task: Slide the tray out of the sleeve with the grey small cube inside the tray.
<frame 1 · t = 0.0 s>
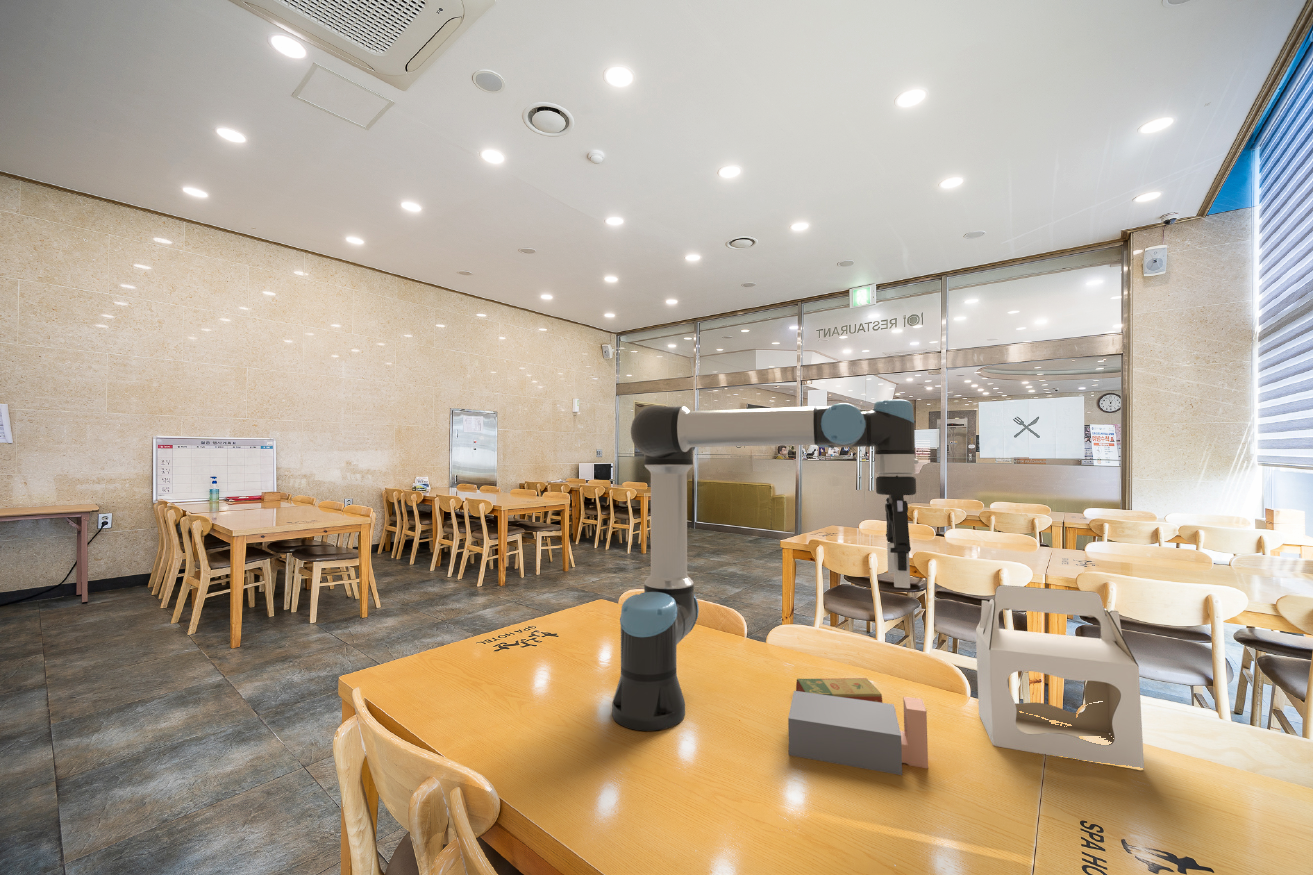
hand: (898, 580, 106), 28 cm above the table, fingers open, 13 cm apart
sleeve: (843, 751, 93), on the table
gable box: (1053, 741, 97), on the table
carton: (837, 705, 112), on the table
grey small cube: (864, 750, 92), point 1 cm above the table, touching tray
tray: (859, 724, 93), point 5 cm above the table, slide at 0.0 cm, touching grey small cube
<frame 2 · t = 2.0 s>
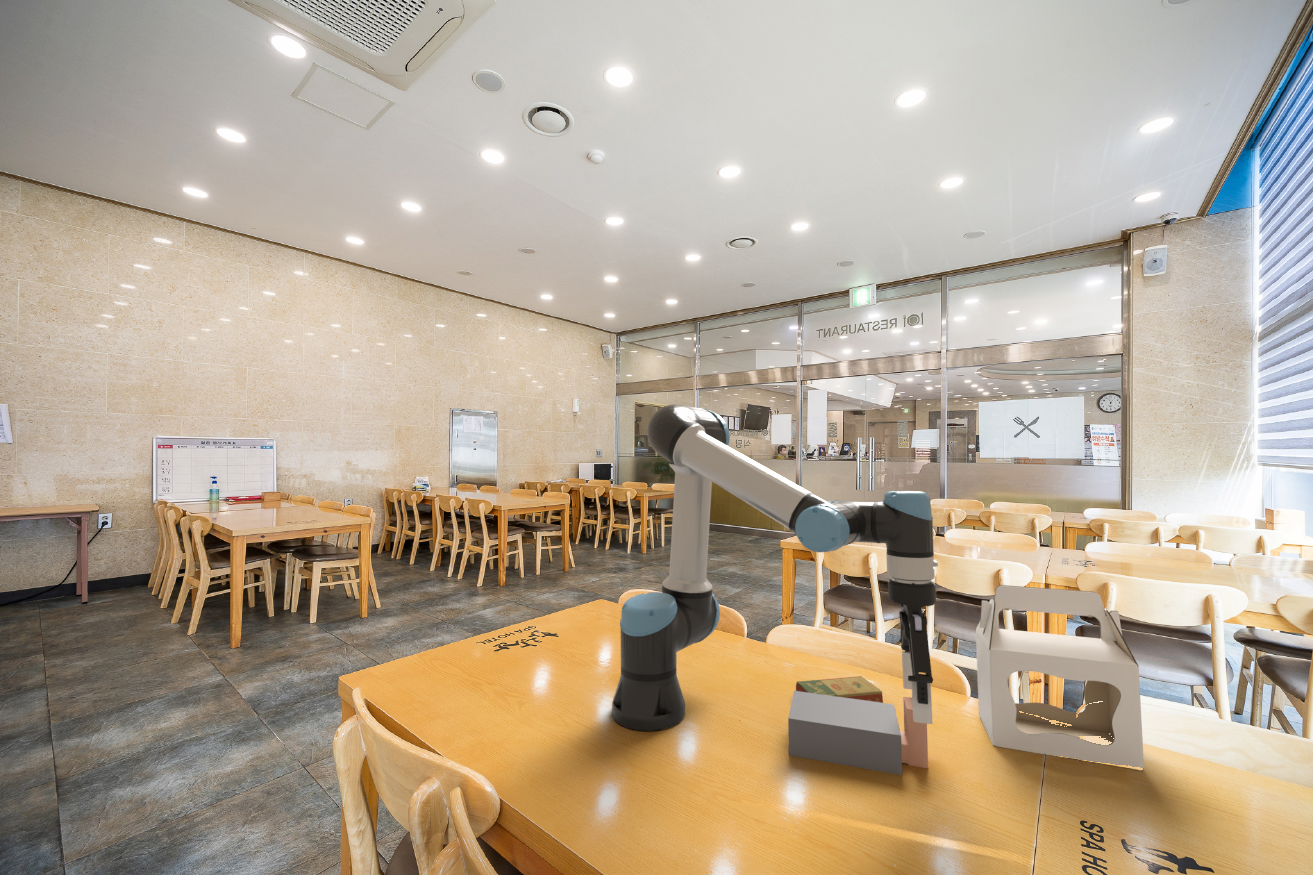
hand: (916, 704, 90), 10 cm above the table, fingers open, 13 cm apart
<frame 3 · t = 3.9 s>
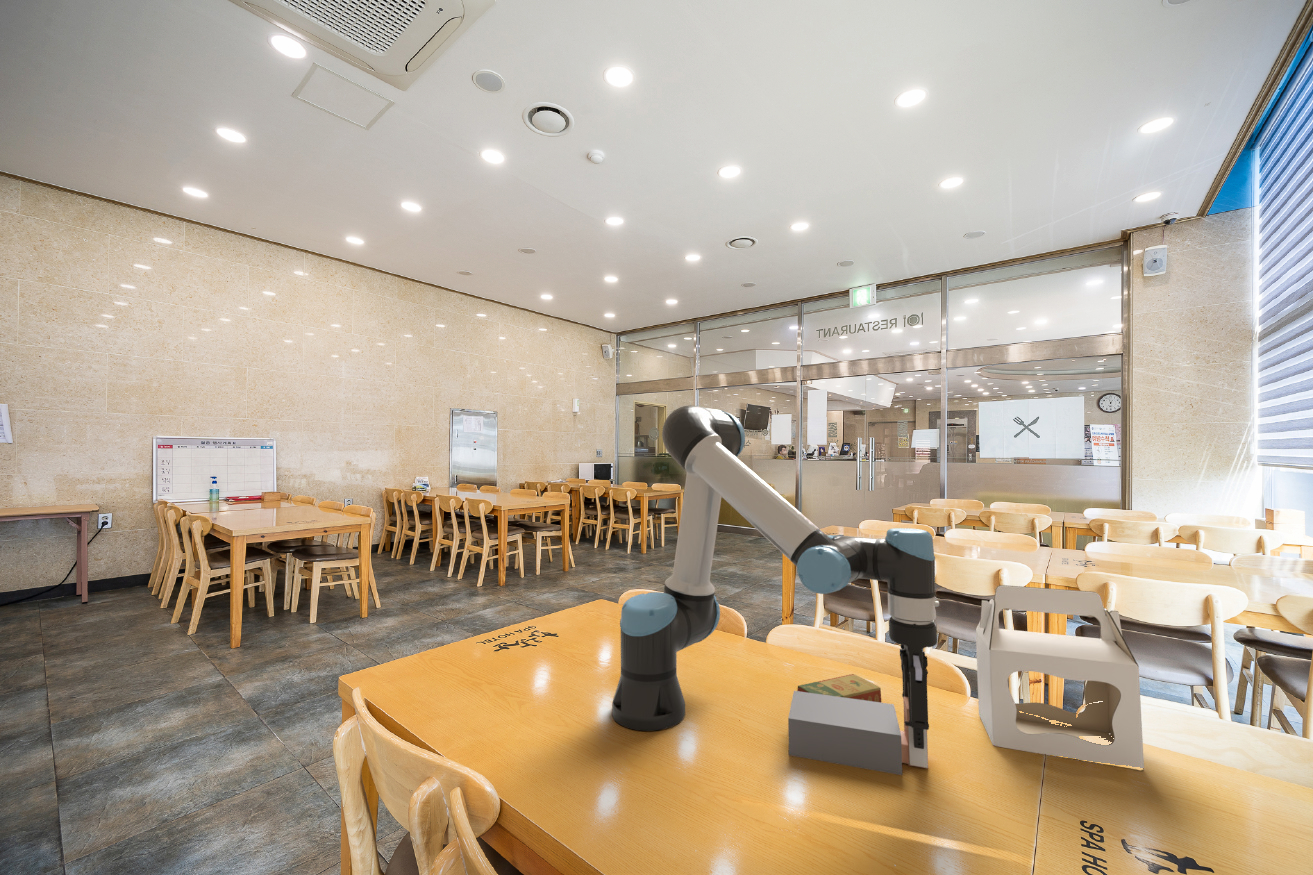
hand: (916, 755, 90), 1 cm above the table, fingers closed on tray, 5 cm apart
tray: (859, 724, 93), point 5 cm above the table, slide at 0.0 cm, touching gripper, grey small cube
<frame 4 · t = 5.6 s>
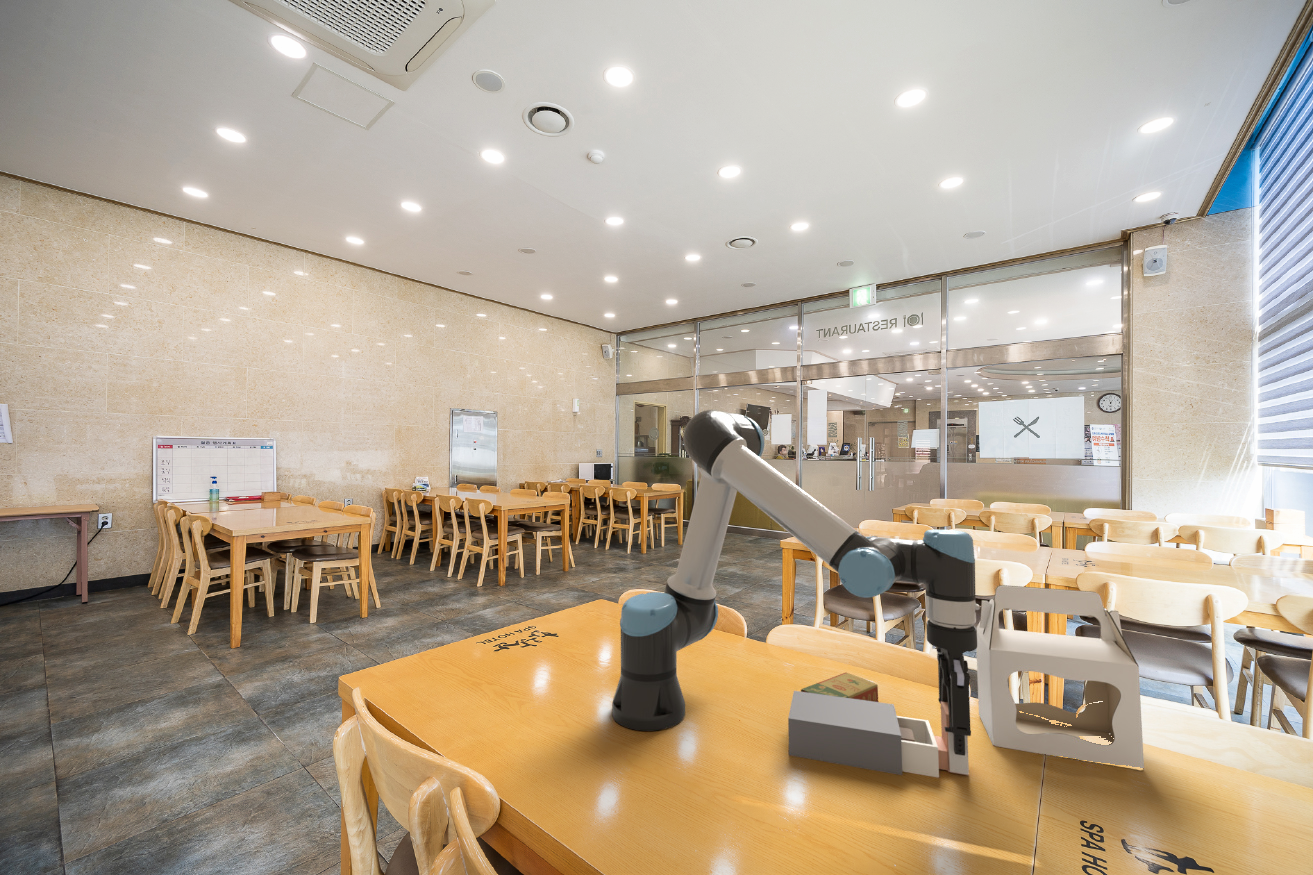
hand: (955, 762, 88), 1 cm above the table, fingers closed on tray, 5 cm apart
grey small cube: (901, 756, 90), point 1 cm above the table, touching tray
tray: (895, 729, 91), point 5 cm above the table, slide at 5.9 cm, touching gripper, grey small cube
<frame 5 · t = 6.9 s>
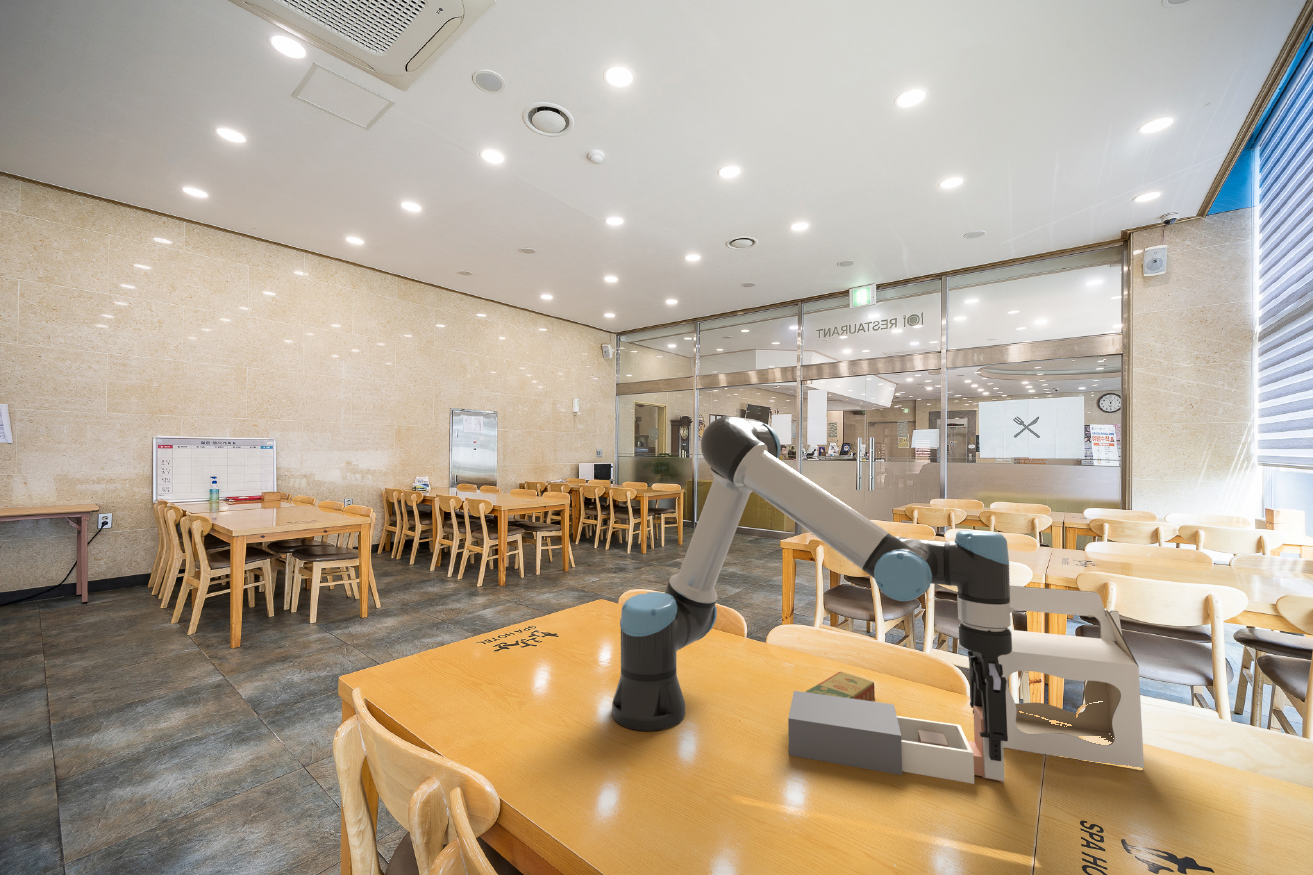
hand: (989, 767, 86), 1 cm above the table, fingers closed on tray, 5 cm apart
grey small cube: (933, 761, 89), point 1 cm above the table, touching tray
tray: (927, 734, 89), point 5 cm above the table, slide at 10.9 cm, touching gripper, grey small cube
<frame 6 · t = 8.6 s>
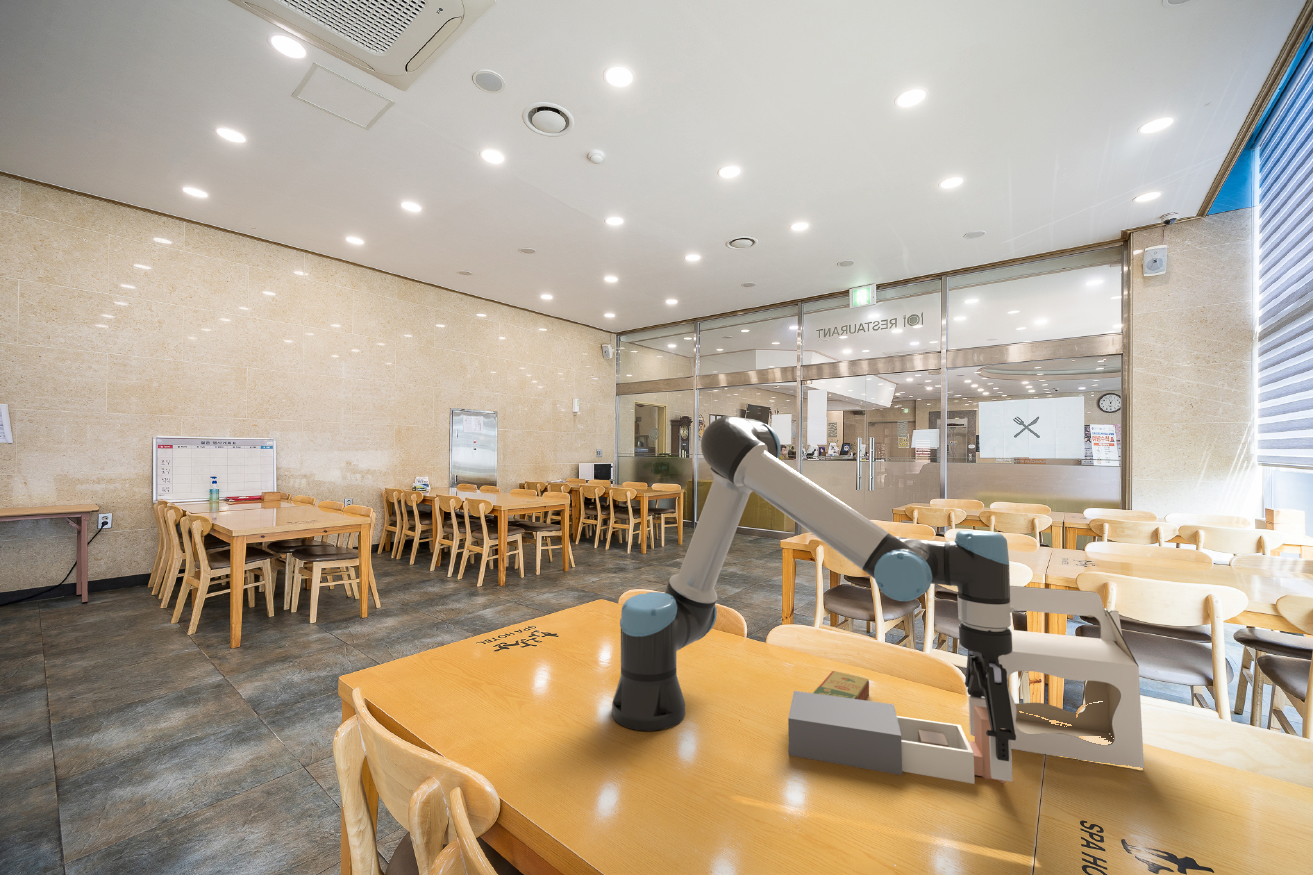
hand: (989, 755, 86), 3 cm above the table, fingers open, 13 cm apart
tray: (927, 734, 89), point 5 cm above the table, slide at 11.0 cm, touching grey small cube
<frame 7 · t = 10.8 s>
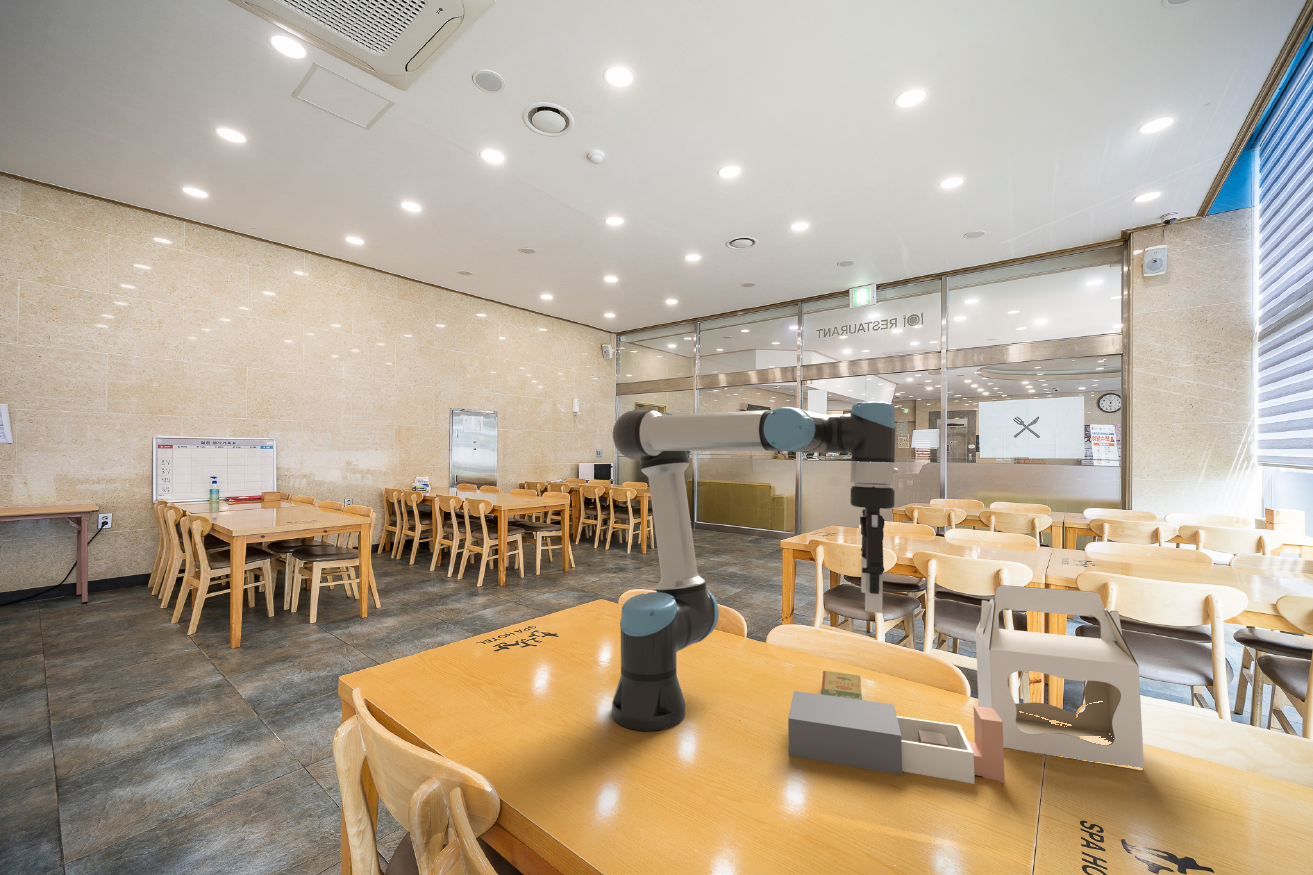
hand: (870, 601, 95), 26 cm above the table, fingers open, 13 cm apart
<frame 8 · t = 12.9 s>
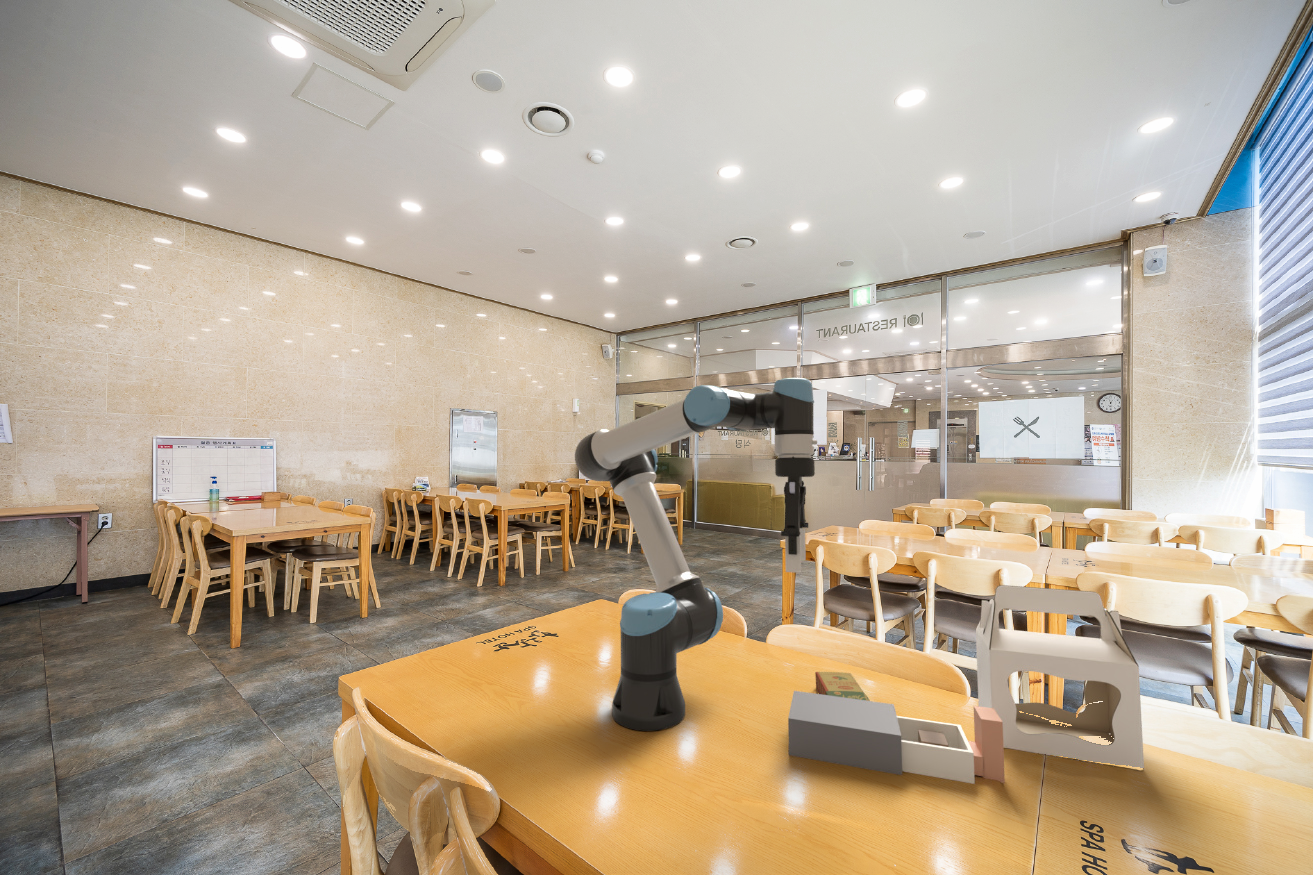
hand: (796, 565, 102), 32 cm above the table, fingers open, 13 cm apart
at the end: tray slide at 11.0 cm; the gripper is holding nothing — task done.
